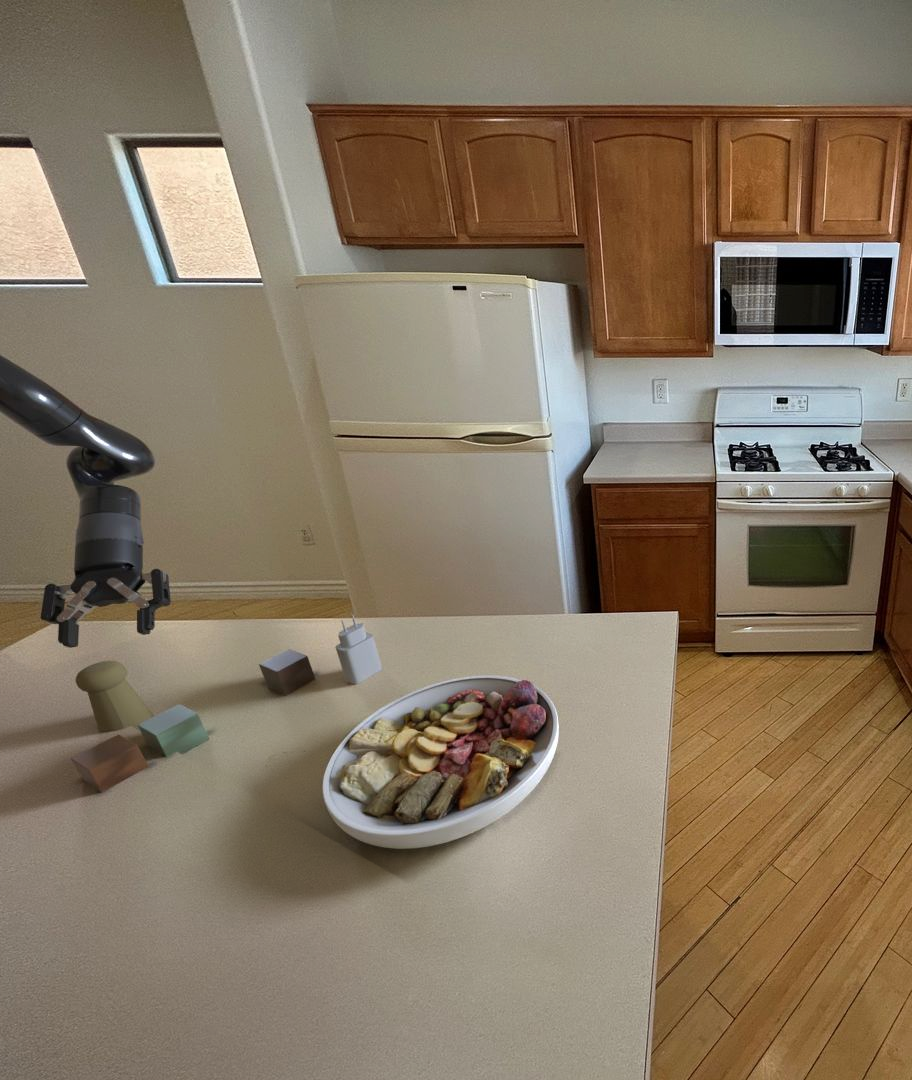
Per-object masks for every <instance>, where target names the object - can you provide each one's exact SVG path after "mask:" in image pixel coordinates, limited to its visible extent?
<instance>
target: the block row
mask: <svg viewBox="0 0 912 1080" xmlns="http://www.w3.org/2000/svg"><path fill="white" fill-rule="evenodd" d="M258 666H259V669H260V671H261V674H262V676H263V679H264V682H265V684H266V687H267V689H270V690H272V691H273V692H276V693H279V694H281V695H283V696H288V695H290V694H291V693H294V692H295V691H297V690H299V689H300V688H302V687H304V686H305V685H308V684H309V683H311V682H313V681H314V680H316V677H315V674H314V671H313V667H312V665H311V662H310V660H309V656H308V655H306V654H304V653H302V652H299V651H296V650H293V649H291V648H289V649H287V650H285V651H283V652H281V653H279V654H277V655H274V656H273V657H271V658H269V659H266V660H265V661H262V662H261V663H259V664H258ZM137 726H138V727H139V729H138V730H139V732H140V733H141V736H142V737H143V739H144V741H145V742H146V745H147V747H149V748H151V749H152V750H154V751H156V752H157V753H159V754H161V755H163V756H164V757H169V756H171V755H172V754H174V753H178V754H180V755H184V754H186V753H187V752H189V751H191V750H192V749H194V748H196V747H198V746H199V745H202V744H203V743H205V742H206V741H208V740H210V737H209V734H208V733H207V730H206V727H204V725H203V722H202V720H201V718H200V716H199V713H198V712H195V711H194V710H191V709H189V708H187V707H185V706H184V705H181V704H180V703H178V704H176V705H175V706H172V707H171V708H168V709H166V710H165V711H163V712H160V713H158V714H156V715H153V717H152V718H150V719H148V720H146V721H144V722H142V723H140V724H138V725H137ZM70 760H71V762H72V764H73V766H74V767H75V769H76V771H77V772H78V774H79V775H80V777H81V779H82V780H83V781H84V782H85V783H86V784H88V785H89V786H90V787H92V788H94V789H96V790H97V791H99V792H100V793H104V792H106V791H108V790H109V789H111V788H113V787H115V786H116V785H119V784H120V783H122V782H125V781H126V780H127V779H130V778H131V777H133V776H135V775H136V774H138V773H140V772H142V771H143V770H145V769H147V768H149V767H150V766H149V764H148V761H146V759H145V757H144V755H143V753H142V751H141V748H139V745H138V744H136V743H135V742H133V741H132V740H129V739H128V738H126V737H125V736H122V735H121V734H117V735H114V736H113V737H110V738H109V739H107V740H104V741H103V742H101V743H98V744H97V745H95V746H92V747H91V748H88V749H86V750H84V751H83V752H80V753H78V754H76V755H74V756H73V757H70Z"/></svg>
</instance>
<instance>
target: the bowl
mask: <svg viewBox="0 0 912 1080" xmlns="http://www.w3.org/2000/svg"><path fill="white" fill-rule="evenodd" d="M559 732H560V728H559V718H558V713H557V709H556V707H555V705H554V703H553V702H552V700H551V698H550V697H549V696H548V695H547V694H546V693H545V692H544V691H543V690H542V689H540V688H538V687H537V686H535V685H534V684H533V682H531V681H529V680H528V679H527V680H525V679H523V680H522V679H519V678H515V677H510V676H504V675H503V676H502V675H471V676H464V677H457V678H451V679H448V680H444V681H440V682H436V683H432V684H429V685H427V686H424V687H421V688H418V689H416V690H413V691H411V692H409V693H407V694H405V695H403V696H401V697H399V698H396V699H395V700H393V701H391V702H389V703H387V704H386V705H384V706H383V707H381V708H379V709H378V710H376V711H374V712H373V713H372V714H371V715H369V716H368V717H367V718H365V719H364V720H362V722H361V723H359V724H358V725H357V726H356V727H355V728H353V729H352V731H351V732H350V733H348V735H346V737H345V738H344V739H343V740H342V741H341V742H340V744H339V745H338V747H337V748H336V749H335V751H334V752H333V754H332V756H331V757H330V759H329V761H328V763H327V765H326V768H325V771H324V773H323V777H322V778H323V779H322V788H321V789H322V797H323V801H324V804H325V807H326V809H327V811H328V813H329V815H330V817H331V818H332V820H333V822H334V823H335V824H336V825H337V826H338V827H339V828H340V829H341V830H342V832H344V833H346V834H347V835H349V836H350V837H352V838H354V839H356V840H357V841H360V842H363V843H365V844H367V845H370V846H375V847H379V848H386V849H396V850H398V849H399V850H400V849H402V850H403V849H404V850H407V849H408V850H409V849H421V848H428V847H432V846H437V845H441V844H445V843H449V842H452V841H455V840H458V839H461V838H463V837H466V836H469V835H471V834H473V833H476V832H478V831H480V830H482V829H484V828H485V827H487V826H489V825H491V824H493V823H495V822H496V821H497V820H499V819H500V818H502V817H504V816H505V815H506V814H507V813H509V812H510V811H512V810H513V809H515V807H517V806H518V805H520V803H521V802H522V801H524V800H525V798H527V797H528V796H529V795H530V793H532V791H533V790H534V789H535V788H536V787H537V786H538V785H539V783H540V782H541V780H542V778H544V776H545V775H546V773H547V771H548V769H549V768H550V765H551V763H552V762H553V759H554V757H555V754H556V750H557V747H558V742H559V735H560V734H559Z"/></svg>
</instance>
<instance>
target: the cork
mask: <svg viewBox="0 0 912 1080" xmlns="http://www.w3.org/2000/svg"><path fill="white" fill-rule="evenodd" d="M127 675H128V670H127V668H126V666H125V665H124V664H123V663H122V662H120V661H118V660H104V661H98V662H96V663H92V664H90V665H88V666H86V667H84V668H82V669H81V670H80V671H79V672H77V674H76V676H75V684H76V685H77V688H78V689H80V690H81V691H83V692H86V693H87V696H88V699H89V702H90V705H91V709H92V712H93V716H94V720H95V722H96V725H97V729H98V731H99V732H102V733H111V732H117V731H121V730H124V729H127V728H129V727H132V728H134V729H136V730H140V729H139V727H138V726H137V725H138V724H140V723H142V722H144V721H146V720H148V719H150V718H152V717H154V713H153V711H152V710H151V709H150V708H149V706H148V705H147V704H146V703H145V701H144V700H143V699H142V698H141V696H140V695H139V694H138V693H137V691H136V690H135V689H134V688H133V686H132V685H131V684H130V683H129V681H128V680H127V679H126V678H127Z"/></svg>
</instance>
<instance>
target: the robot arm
mask: <svg viewBox="0 0 912 1080" xmlns="http://www.w3.org/2000/svg"><path fill="white" fill-rule="evenodd" d="M0 413H1V415H4V416H5V417H7V418H8V419H9V420H11V421H12V422H14V423H15V424H17V425H18V426H19V427H21V428H23V429H24V430H26V431H27V432H29V433H30V434H31V435H33V436H34V437H36V438H37V439H39V440H41V441H42V442H44V443H46V444H48V445H52V446H55V447H74V448H73V449H71V451H70V452H69V453H68V455H67V457H66V459H65V460H66V461H65V464H66V469H67V472H68V474H69V476H70V479H71V481H72V484H73V486H74V489H75V491H76V494H77V496H78V499H79V502H78V503H79V506H78V507H79V509H78V523H77V527H76V530H75V540H74V541H75V544H74V564H73V572H74V580H73V581H72V583H69V584H60V585H57V584H55V583H48V584H46V585H45V586H44V590H43V598H42V605H41V612H40V620H42V621H44V622H47V623H50V624H52V625H58V629H57V641H58V643H59V644H61V645H62V646H63V647H66V648H69V649H73V648H77V647H79V635H80V634H79V633H80V624H78V623H79V622H80V621H81V620H82V619H83V618H84V617H85V616H86V615H87V614H90V613H91V612H93V611H94V609H96V608H97V607H99V608H102V607H107V606H110V605H122V604H126V603H127V602H128V601H130V602H132V603H133V604H134V605H136V606H137V607H138V608H139V609H137V610H136V632H137V633H138V634H140V635H142V636H146V635H150V634H151V631H153V630H154V628H155V626H156V624H155V623H156V622H155V621H156V617H155V615H156V614H155V613H156V611H157V610H158V609H160V608H163V607H168V606H170V605H171V603H172V601H171V591H170V590H171V589H170V579H169V574H167V573H166V572H164V571H163V570H161V569H159V568H154V569H152V570H151V571H149V572H145V573H144V572H143V569H144V551H143V550H144V543H145V539H144V533H143V527H142V521H141V520H142V502H141V496H140V494H139V493H138V492H137V491H136V490H135V489H133V488H131V487H129V486H125V485H120V484H115V483H116V482H119V481H124V480H127V479H131V478H135V477H140V476H143V475H146V474H148V473H149V472H151V471H152V470H153V469H154V468H155V465H156V459H155V455H154V453H153V451H152V450H151V449H150V447H149V446H148V445H147V444H146V443H145V442H144V441H143V440H141V439H140V438H138V437H137V436H135V435H133V434H132V433H129V432H128V431H127V430H126V431H125V430H123V429H122V428H119V427H117V426H115V425H113V424H112V423H109V422H107V421H105V420H103V419H101V418H98V417H96V416H93V415H92V414H90V413H88V412H86V411H85V410H84V409H82V408H81V407H80V406H78V405H77V404H76V403H74V401H72V400H71V399H70V398H68V397H67V396H66V395H64V394H63V393H61V392H60V391H59V390H58V389H56V388H55V387H53V386H52V385H50V384H49V383H47V382H46V381H44V380H43V379H41V378H40V377H39V376H38V375H35V374H33V373H32V372H30V371H29V370H27V369H26V368H24V367H22V366H21V365H19V364H17V362H14V361H13V360H11V359H9V358H8V357H6V356H4V355H3V354H1V353H0ZM146 582H147V584H148V583H149V584H150V585H151V590H152V598H150V599H148V598H147V597H145V596H144V595H143V594H142V593H140V592H139V590H140V589H141V588H142V586H143V585H145V583H146ZM71 593H74V594H75V595H74V596H73V597H72V598H71V599H70V600H69V601H68V602H67V604H66V599H69V598H70V595H71ZM83 603H84V604H83ZM65 605H66V607H65Z"/></svg>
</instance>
